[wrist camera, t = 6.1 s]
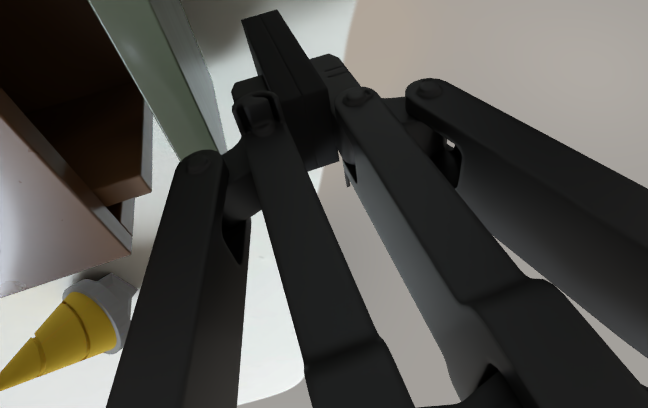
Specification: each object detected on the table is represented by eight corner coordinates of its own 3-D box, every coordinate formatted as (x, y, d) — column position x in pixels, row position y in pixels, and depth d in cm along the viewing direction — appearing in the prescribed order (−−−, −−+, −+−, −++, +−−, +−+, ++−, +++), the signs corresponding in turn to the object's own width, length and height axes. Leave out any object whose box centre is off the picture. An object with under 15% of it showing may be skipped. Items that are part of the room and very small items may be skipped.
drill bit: (125, 312, 30) (-23, 418, 22) (103, 253, 28) (-68, 345, 20) (173, 325, 28) (29, 449, 19) (153, 262, 26) (-16, 370, 18)
